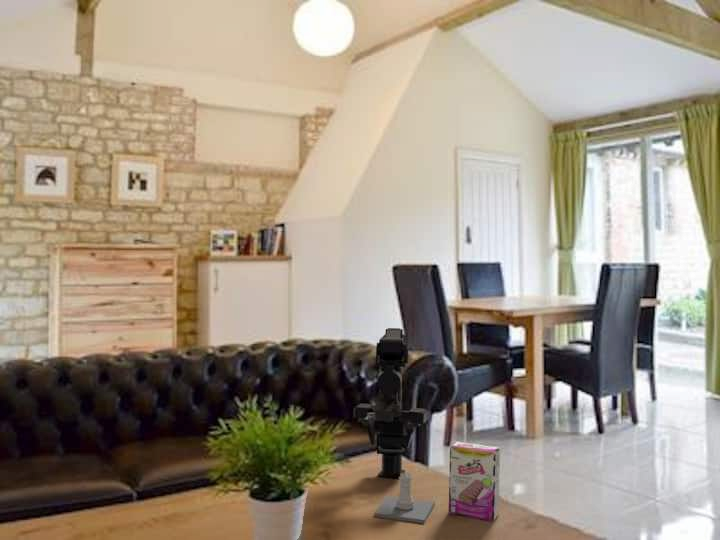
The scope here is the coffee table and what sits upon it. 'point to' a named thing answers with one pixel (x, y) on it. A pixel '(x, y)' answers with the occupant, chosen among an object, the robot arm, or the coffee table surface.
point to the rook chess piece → (405, 493)
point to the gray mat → (413, 515)
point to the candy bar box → (474, 481)
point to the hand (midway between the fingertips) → (389, 446)
